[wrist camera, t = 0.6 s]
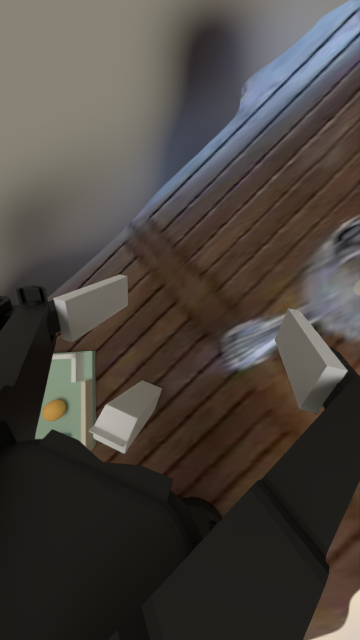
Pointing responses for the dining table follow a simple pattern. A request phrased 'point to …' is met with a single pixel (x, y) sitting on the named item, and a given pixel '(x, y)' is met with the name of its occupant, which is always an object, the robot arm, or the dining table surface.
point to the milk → (126, 416)
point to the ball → (53, 410)
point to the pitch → (72, 396)
